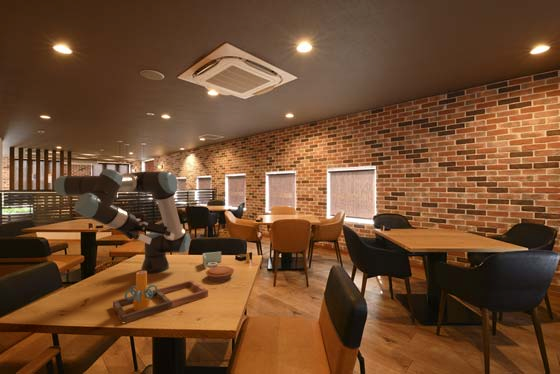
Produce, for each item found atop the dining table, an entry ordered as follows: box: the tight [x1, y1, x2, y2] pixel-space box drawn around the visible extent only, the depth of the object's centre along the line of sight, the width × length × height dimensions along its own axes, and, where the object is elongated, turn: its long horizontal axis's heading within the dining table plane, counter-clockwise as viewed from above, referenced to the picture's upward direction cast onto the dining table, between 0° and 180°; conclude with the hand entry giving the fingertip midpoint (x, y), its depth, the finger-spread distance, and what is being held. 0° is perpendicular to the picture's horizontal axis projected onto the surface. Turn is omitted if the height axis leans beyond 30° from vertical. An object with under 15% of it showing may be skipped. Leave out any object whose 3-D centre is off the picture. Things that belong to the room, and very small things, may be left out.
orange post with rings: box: [124, 270, 158, 312], centre depth 105 cm, size 12×10×15 cm
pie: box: [205, 265, 235, 282], centre depth 140 cm, size 15×16×5 cm
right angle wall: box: [202, 251, 222, 270], centre depth 162 cm, size 12×12×8 cm
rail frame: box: [112, 279, 209, 323], centre depth 111 cm, size 18×34×2 cm, turn 134°
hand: (161, 239), depth 112 cm, fingers open, 13 cm apart
